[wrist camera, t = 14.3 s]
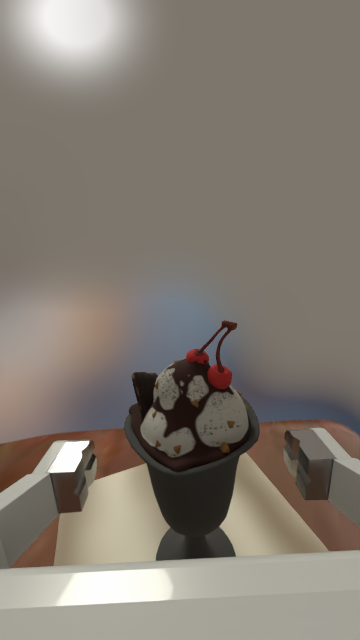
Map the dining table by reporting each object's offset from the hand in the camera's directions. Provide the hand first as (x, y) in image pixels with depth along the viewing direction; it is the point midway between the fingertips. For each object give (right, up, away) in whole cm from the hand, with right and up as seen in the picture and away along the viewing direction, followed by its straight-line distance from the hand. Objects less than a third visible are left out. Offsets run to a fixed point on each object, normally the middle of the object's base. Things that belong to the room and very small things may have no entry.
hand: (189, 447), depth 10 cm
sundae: (+1, -10, +4) cm, 10 cm away
